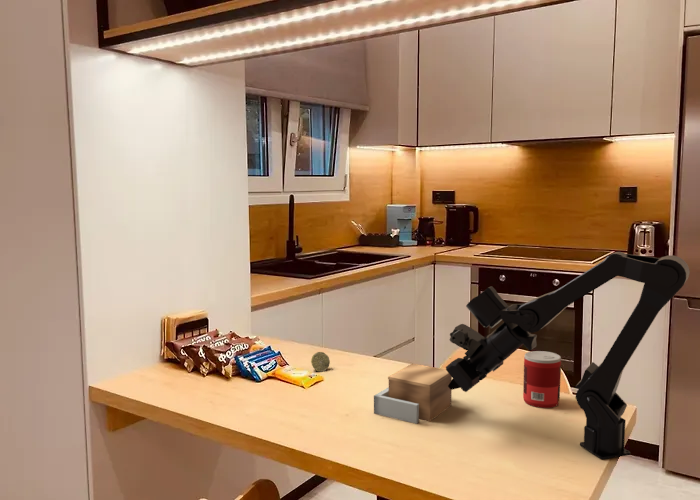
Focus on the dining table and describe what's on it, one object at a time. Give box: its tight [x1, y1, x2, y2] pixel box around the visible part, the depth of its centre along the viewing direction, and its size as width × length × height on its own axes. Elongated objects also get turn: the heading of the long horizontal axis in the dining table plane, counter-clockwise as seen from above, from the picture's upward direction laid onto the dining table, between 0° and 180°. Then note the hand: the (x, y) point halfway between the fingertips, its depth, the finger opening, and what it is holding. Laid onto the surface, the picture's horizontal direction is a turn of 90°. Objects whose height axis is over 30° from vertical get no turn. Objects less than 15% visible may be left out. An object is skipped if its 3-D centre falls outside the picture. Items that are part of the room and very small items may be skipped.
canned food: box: [522, 350, 562, 409], centre depth 138 cm, size 8×8×11 cm
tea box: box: [387, 363, 453, 423], centre depth 135 cm, size 10×11×8 cm
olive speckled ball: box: [310, 351, 331, 372], centre depth 163 cm, size 4×5×5 cm
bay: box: [373, 386, 420, 424], centre depth 136 cm, size 10×16×4 cm, turn 146°
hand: (450, 387), depth 131 cm, fingers closed
